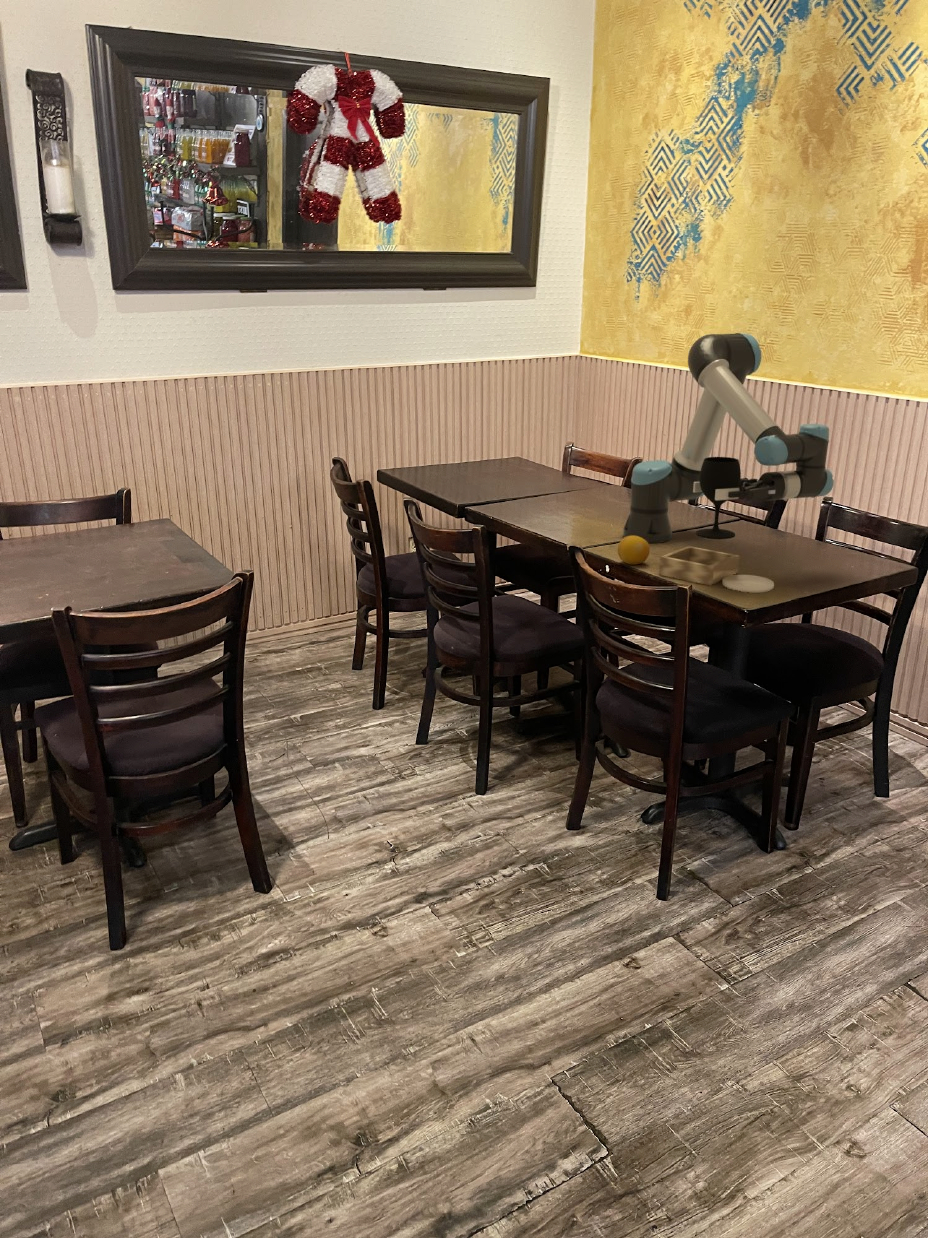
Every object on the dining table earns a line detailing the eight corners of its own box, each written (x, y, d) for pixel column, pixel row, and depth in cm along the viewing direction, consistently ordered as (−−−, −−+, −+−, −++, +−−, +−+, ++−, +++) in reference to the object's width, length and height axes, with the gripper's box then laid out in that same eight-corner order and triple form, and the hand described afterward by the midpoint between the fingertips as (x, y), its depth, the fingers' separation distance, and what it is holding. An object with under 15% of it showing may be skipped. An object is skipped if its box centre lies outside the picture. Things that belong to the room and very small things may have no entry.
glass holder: (658, 574, 259) (660, 556, 257) (687, 563, 270) (688, 545, 268) (710, 585, 249) (711, 567, 248) (737, 573, 260) (739, 555, 258)
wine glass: (734, 540, 246) (740, 463, 240) (693, 537, 249) (698, 461, 243) (736, 531, 256) (743, 457, 249) (697, 528, 259) (703, 455, 252)
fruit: (632, 558, 275) (634, 531, 272) (654, 564, 269) (655, 536, 266) (611, 563, 270) (612, 535, 267) (632, 569, 264) (634, 541, 261)
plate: (713, 585, 249) (713, 582, 249) (736, 575, 258) (736, 571, 258) (759, 596, 241) (760, 592, 240) (782, 584, 250) (782, 581, 250)
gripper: (802, 507, 245) (727, 514, 238) (752, 491, 265) (681, 497, 259) (806, 479, 242) (730, 484, 236) (754, 464, 263) (683, 469, 256)
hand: (704, 490), depth 247 cm, fingers closed on wine glass, 10 cm apart
